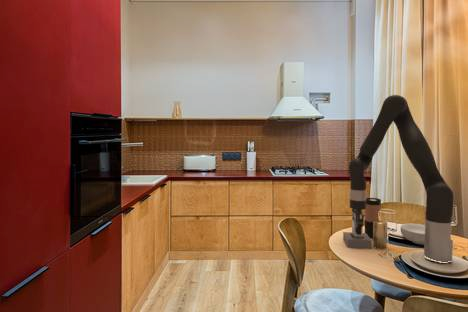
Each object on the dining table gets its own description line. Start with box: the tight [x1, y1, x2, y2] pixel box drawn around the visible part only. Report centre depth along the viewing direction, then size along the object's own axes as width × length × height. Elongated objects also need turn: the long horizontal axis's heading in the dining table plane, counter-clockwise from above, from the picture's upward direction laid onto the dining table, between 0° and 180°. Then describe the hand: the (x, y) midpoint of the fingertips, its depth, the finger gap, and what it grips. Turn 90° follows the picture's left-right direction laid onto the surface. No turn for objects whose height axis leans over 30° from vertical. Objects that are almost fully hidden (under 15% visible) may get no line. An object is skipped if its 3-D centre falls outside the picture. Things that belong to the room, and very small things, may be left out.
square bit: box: [351, 218, 364, 238], centre depth 148 cm, size 4×4×12 cm
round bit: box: [372, 220, 388, 250], centre depth 144 cm, size 6×6×12 cm
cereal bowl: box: [400, 223, 425, 246], centre depth 150 cm, size 17×17×7 cm
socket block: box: [342, 231, 373, 250], centre depth 148 cm, size 11×11×4 cm
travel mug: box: [364, 197, 382, 239], centre depth 158 cm, size 8×8×20 cm
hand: (357, 232), depth 148 cm, fingers open, 6 cm apart
